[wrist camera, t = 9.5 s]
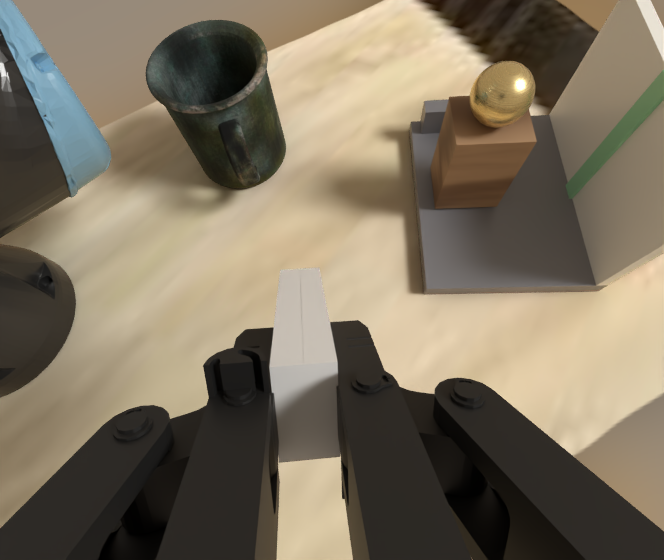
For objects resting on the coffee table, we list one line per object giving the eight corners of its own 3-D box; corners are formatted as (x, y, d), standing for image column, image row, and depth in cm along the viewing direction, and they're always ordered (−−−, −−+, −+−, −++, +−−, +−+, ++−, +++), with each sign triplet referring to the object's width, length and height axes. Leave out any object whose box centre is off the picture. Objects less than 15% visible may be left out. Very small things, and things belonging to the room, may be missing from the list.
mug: (275, 107, 46) (248, 5, 35) (312, 199, 41) (294, 113, 30) (190, 134, 45) (135, 39, 34) (217, 232, 40) (162, 156, 29)
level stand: (597, 291, 35) (748, 204, 21) (424, 294, 36) (462, 213, 22) (552, 124, 42) (642, -18, 29) (409, 131, 43) (431, -3, 30)
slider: (496, 206, 37) (566, 93, 24) (435, 208, 37) (472, 98, 25) (489, 165, 39) (550, 40, 26) (430, 167, 39) (463, 45, 27)
